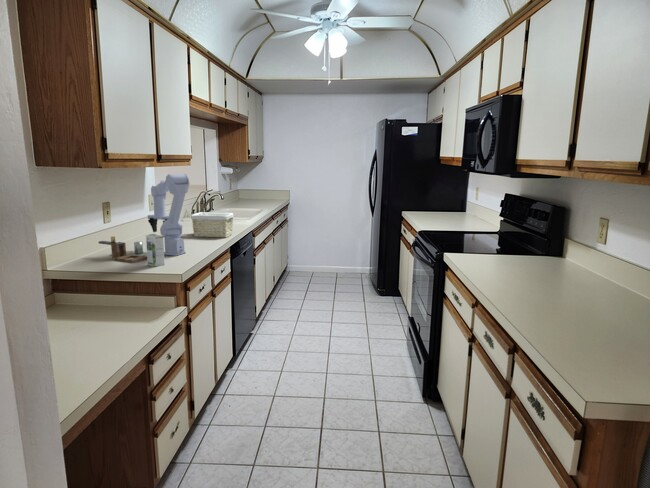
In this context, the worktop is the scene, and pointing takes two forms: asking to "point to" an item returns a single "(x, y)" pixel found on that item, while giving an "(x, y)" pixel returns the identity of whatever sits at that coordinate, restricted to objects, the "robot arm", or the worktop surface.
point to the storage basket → (212, 224)
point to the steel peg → (138, 248)
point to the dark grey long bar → (111, 242)
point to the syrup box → (155, 250)
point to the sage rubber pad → (139, 254)
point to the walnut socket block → (124, 254)
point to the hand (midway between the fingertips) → (160, 232)
